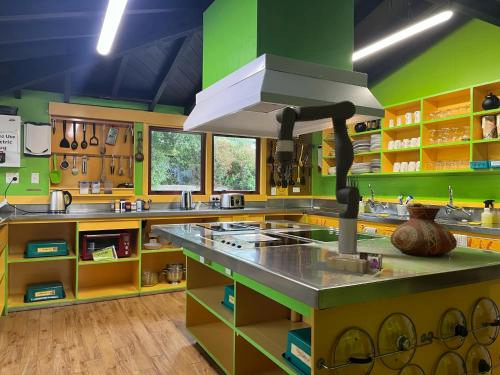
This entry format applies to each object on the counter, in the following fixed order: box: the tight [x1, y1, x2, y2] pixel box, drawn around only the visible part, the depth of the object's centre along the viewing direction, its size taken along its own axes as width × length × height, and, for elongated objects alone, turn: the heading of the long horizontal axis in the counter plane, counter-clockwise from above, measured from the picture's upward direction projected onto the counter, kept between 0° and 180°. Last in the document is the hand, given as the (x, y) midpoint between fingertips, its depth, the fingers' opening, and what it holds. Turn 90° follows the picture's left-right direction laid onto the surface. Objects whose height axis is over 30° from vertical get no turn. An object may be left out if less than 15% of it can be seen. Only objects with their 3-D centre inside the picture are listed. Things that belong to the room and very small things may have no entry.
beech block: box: [326, 255, 371, 275], centre depth 148 cm, size 6×4×15 cm
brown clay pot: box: [389, 202, 458, 258], centre depth 189 cm, size 30×30×25 cm
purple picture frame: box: [358, 251, 384, 272], centre depth 153 cm, size 7×5×9 cm
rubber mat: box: [303, 260, 374, 277], centre depth 150 cm, size 16×24×1 cm
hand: (284, 188), depth 175 cm, fingers closed
